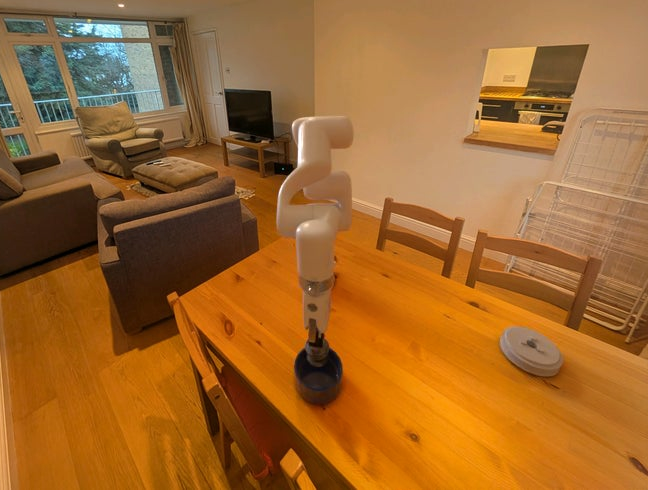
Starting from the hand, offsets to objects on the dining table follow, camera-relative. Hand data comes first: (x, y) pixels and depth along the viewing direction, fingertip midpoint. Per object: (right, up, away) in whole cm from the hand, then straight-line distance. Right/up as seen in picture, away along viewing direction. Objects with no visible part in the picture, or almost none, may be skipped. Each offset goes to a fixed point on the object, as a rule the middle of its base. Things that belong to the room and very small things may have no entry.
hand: (317, 337), depth 69 cm
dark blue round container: (+1, -15, +7) cm, 16 cm away
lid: (+57, -10, +10) cm, 59 cm away
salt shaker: (0, -6, +3) cm, 7 cm away
